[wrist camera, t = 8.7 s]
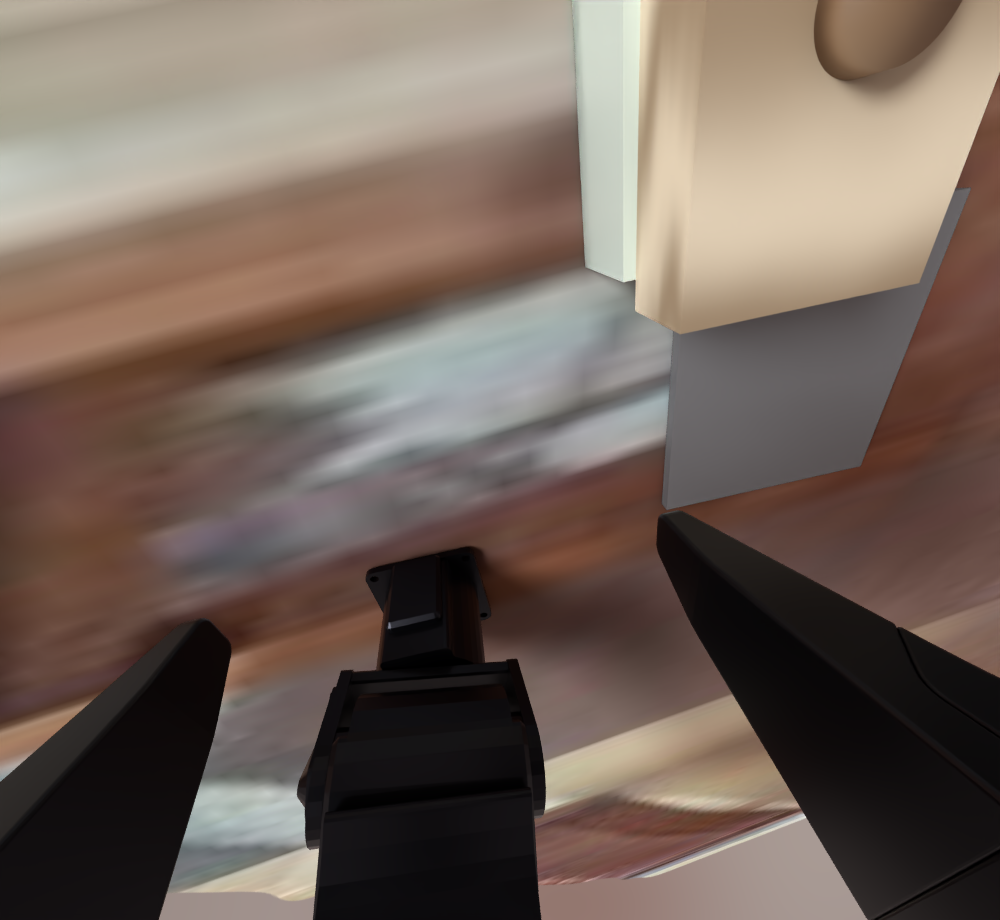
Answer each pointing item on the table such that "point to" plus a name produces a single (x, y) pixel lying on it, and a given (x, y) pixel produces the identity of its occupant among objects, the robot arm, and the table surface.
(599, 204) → the dish
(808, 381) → the mat
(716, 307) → the lid
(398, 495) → the table surface
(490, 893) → the robot arm
